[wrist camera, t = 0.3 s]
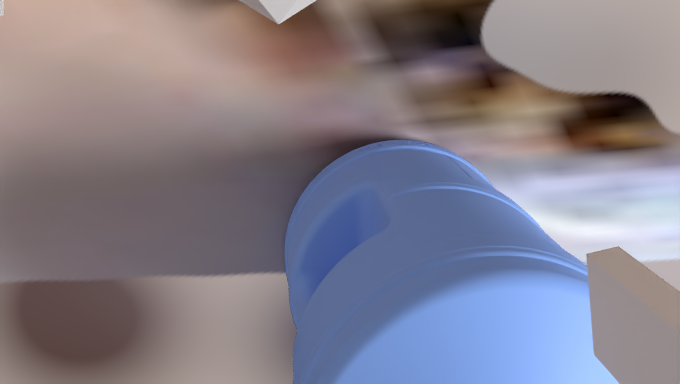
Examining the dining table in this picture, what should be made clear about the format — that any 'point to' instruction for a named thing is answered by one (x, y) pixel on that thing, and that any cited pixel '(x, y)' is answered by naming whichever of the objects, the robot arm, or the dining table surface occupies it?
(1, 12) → the figurine
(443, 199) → the water jug
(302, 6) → the die
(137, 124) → the dining table surface
